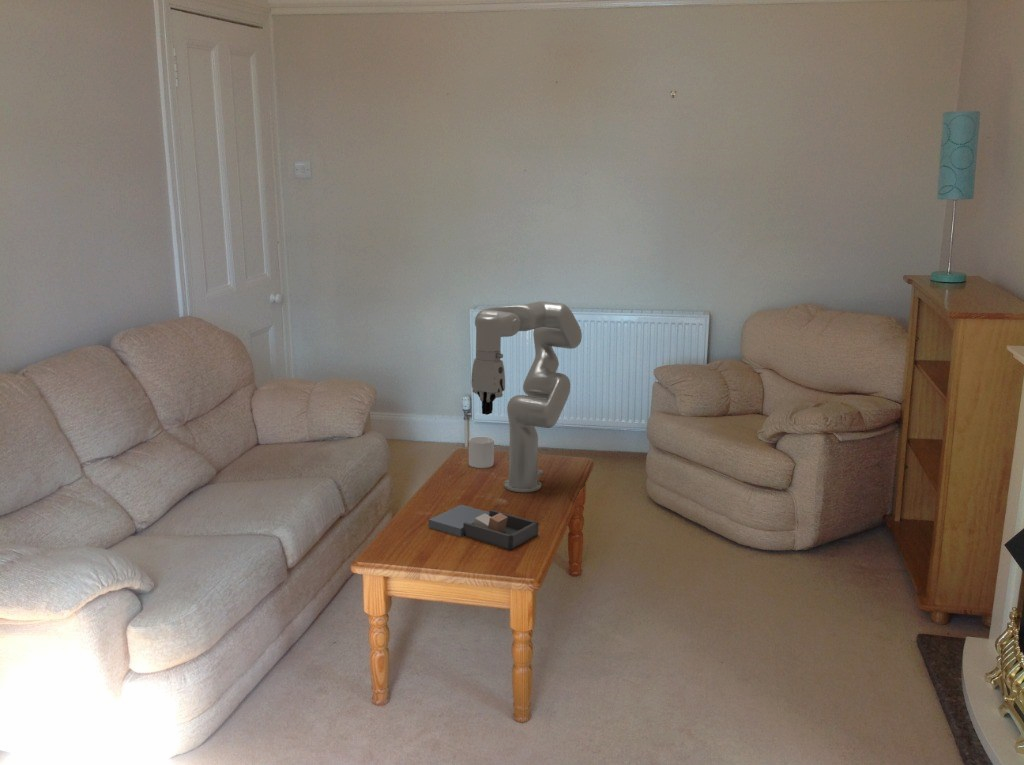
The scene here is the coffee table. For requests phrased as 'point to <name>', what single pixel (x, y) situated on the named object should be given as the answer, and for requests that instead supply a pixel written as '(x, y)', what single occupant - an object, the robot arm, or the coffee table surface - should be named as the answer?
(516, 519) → the box
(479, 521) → the tile
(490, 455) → the mug
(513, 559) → the coffee table surface
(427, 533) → the coffee table surface
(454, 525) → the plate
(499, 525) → the tile
